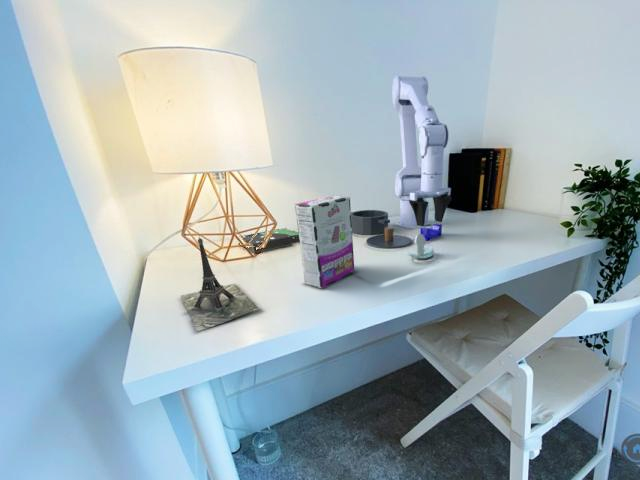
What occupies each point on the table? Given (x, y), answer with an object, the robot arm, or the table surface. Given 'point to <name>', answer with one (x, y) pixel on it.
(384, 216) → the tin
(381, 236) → the lid
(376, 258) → the table surface
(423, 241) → the pacifier
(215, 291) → the eiffel tower figurine
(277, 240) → the disk drive
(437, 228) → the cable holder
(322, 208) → the candy bar box
